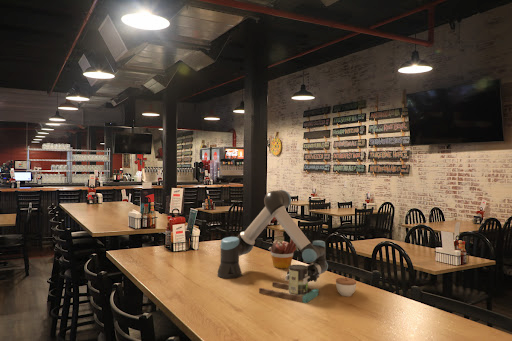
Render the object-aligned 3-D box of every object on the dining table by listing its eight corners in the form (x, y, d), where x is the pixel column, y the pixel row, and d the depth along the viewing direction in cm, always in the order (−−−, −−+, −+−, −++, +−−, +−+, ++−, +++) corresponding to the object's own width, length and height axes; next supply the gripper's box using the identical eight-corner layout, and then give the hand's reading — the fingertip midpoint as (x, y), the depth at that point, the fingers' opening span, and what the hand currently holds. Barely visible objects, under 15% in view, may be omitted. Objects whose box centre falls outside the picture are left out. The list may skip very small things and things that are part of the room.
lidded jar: (341, 298, 207) (341, 280, 207) (332, 292, 217) (332, 275, 217) (359, 296, 210) (360, 279, 210) (349, 290, 220) (350, 274, 220)
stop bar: (302, 302, 200) (302, 296, 200) (315, 294, 214) (315, 288, 213) (306, 303, 199) (306, 297, 199) (318, 294, 212) (318, 289, 212)
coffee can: (308, 290, 214) (308, 265, 214) (307, 296, 204) (307, 269, 204) (289, 289, 216) (290, 263, 216) (287, 295, 206) (287, 268, 206)
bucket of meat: (264, 265, 274) (264, 237, 274) (280, 262, 285) (281, 234, 285) (284, 271, 259) (285, 241, 259) (301, 267, 270) (301, 238, 270)
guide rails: (259, 293, 214) (259, 288, 214) (273, 285, 227) (273, 281, 227) (306, 303, 199) (306, 298, 199) (318, 294, 212) (318, 290, 212)
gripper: (330, 280, 219) (314, 290, 201) (294, 274, 231) (276, 283, 213) (331, 267, 219) (314, 276, 200) (294, 261, 231) (276, 269, 213)
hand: (294, 279), depth 207 cm, fingers closed on coffee can, 10 cm apart
